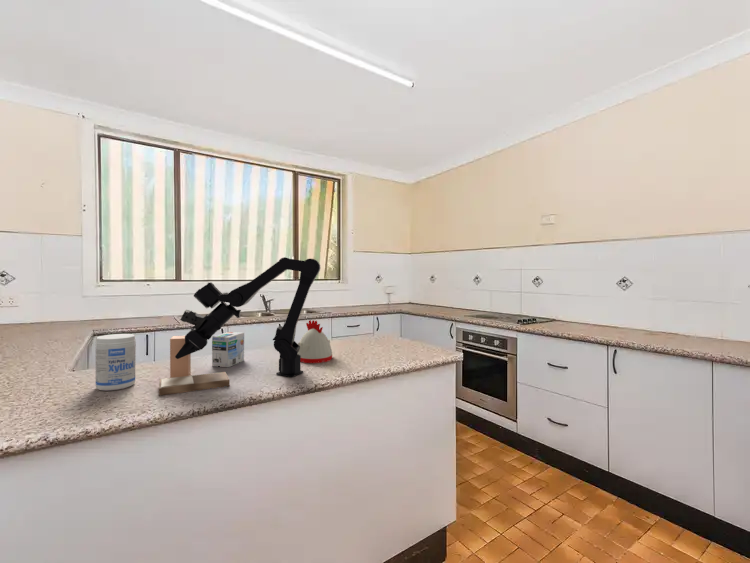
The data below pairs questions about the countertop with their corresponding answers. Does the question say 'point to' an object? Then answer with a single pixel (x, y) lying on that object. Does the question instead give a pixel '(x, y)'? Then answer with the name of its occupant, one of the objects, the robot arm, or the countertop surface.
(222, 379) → the base board
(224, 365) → the light bulb box
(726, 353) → the countertop surface
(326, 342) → the kitchen timer
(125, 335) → the supplement tub
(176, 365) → the pillar
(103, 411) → the countertop surface
